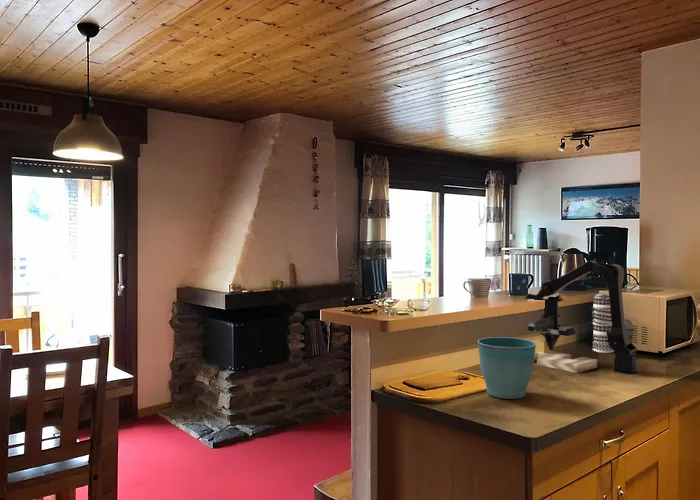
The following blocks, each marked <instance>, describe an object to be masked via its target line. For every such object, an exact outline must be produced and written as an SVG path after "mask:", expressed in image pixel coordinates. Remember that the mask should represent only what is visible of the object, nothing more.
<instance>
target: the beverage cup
mask: <svg viewBox="0 0 700 500" xmlns="http://www.w3.org/2000/svg"><path fill="white" fill-rule="evenodd" d="M627 314H628V308H627V307H625V312H624V322H625V327H626V329H627V331H628V333H629V337H630V341H631V343H632V344H633V335H634V330H635V326H634V324H633V322H632V321H631V320H629V319H628V318H627Z"/></svg>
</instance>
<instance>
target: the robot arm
mask: <svg viewBox="0 0 700 500" xmlns="http://www.w3.org/2000/svg"><path fill="white" fill-rule="evenodd" d="M590 273H594V274H597V275H599V276H603V280H604V283H605V286H607V289H608V294H609V299H610V310H611V322H612V328H611V330H610V331H608V332H607V337H608V341H607V343H609V346H610V348H612V349H613V350H614V352H613V353H614V358H613V367H614V369H612V371H613V372H618V373H624V374H629V375H631V374H634V373H638V372H639V370H638V369H637V355H636V353H637V351H638V348H637V347H636V345H634V343H633V342H632V343H631V341H630V337H629V333H628V331H627V329H626V327H625V322H624V319H625V312H624V300H623V291H622V288H623V284H624V280H625V269H624V267H623V266H622V265H620V264H615V263H614V264H608V263H604V262H597V261H596V260H587V261H586V262H584V263H583V264H581V265H579V266H577V267H576V268H574V269H572V270H570V271H568V272H567V273H565V274H562V276H560V277H559V276H558V277H555V278H553V279H550V280H547V281H544V282H542V283H541V287H540V290H539V291H538V293H537V294H534V293H533V294H532V293H527V294H526V297H525V298H524V300H525V299H534V300H545V308H544V309H540V310H536V311H537V312H540V311H541V310H543V313H541V316H540V319H538V320H536V321H535V322H530V323H528V325H527V331H530V332H534V331H535V332H539V334H540V335H541V336H543V337H544V340H546V341H547V344H548V347H549V350H551V351H553V350H554V348H555V346H556V343H557V342H558V340H559V338H560V336H567V337H568V336H569V337H570V336H574V335H576V329H575V327H574V326H573V327H572V326H562V327H561V324H560V323H559V318H561V314H560V313H559V302H563V301H564V298H563V297H562V296H561V295H559V293H560V292H561V291H562V290H563V289H565V288H566V287H567V286H568V285H569V284H571V283H573V282H575V281H577V280H579V279H580V278H582V277H585V276H586V275H588V274H590ZM554 295H556V296H554ZM546 297H547V298H546ZM536 311H535V312H536Z"/></svg>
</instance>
